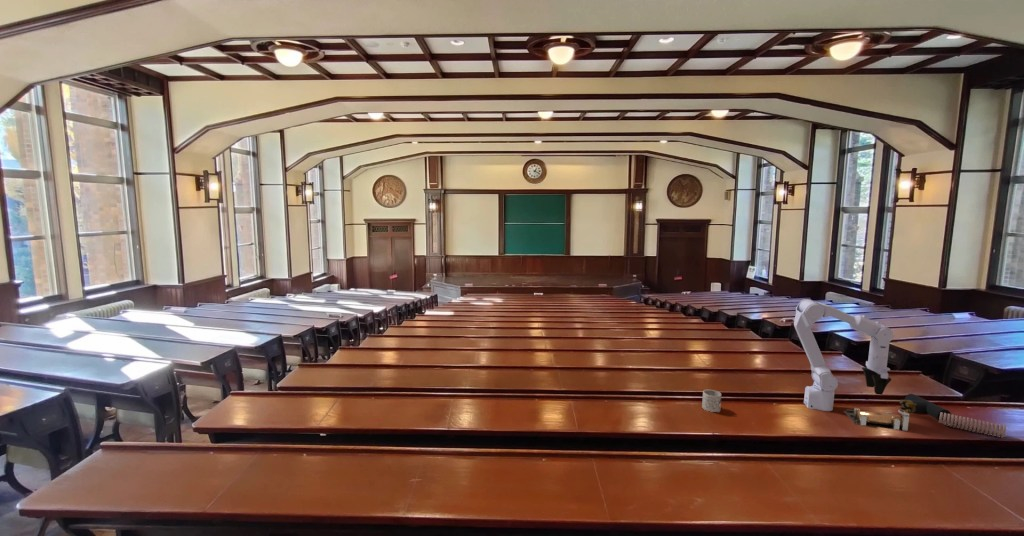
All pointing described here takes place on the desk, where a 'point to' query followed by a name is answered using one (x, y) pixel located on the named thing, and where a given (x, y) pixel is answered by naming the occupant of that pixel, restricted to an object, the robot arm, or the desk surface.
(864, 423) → the small blocks
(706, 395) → the mug
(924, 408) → the pipe connector
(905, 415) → the aperture bracket
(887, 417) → the tube
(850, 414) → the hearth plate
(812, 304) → the robot arm
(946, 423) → the coil
